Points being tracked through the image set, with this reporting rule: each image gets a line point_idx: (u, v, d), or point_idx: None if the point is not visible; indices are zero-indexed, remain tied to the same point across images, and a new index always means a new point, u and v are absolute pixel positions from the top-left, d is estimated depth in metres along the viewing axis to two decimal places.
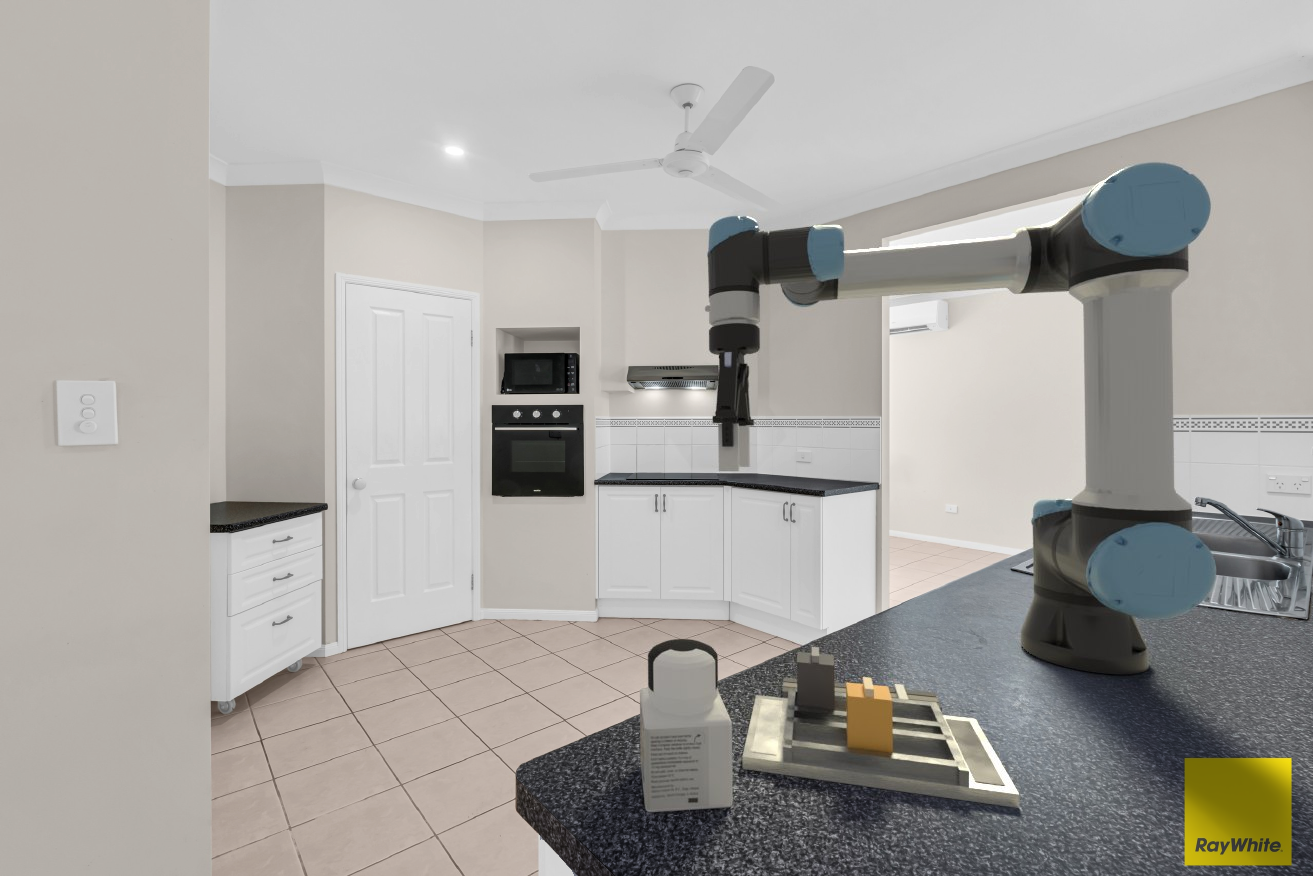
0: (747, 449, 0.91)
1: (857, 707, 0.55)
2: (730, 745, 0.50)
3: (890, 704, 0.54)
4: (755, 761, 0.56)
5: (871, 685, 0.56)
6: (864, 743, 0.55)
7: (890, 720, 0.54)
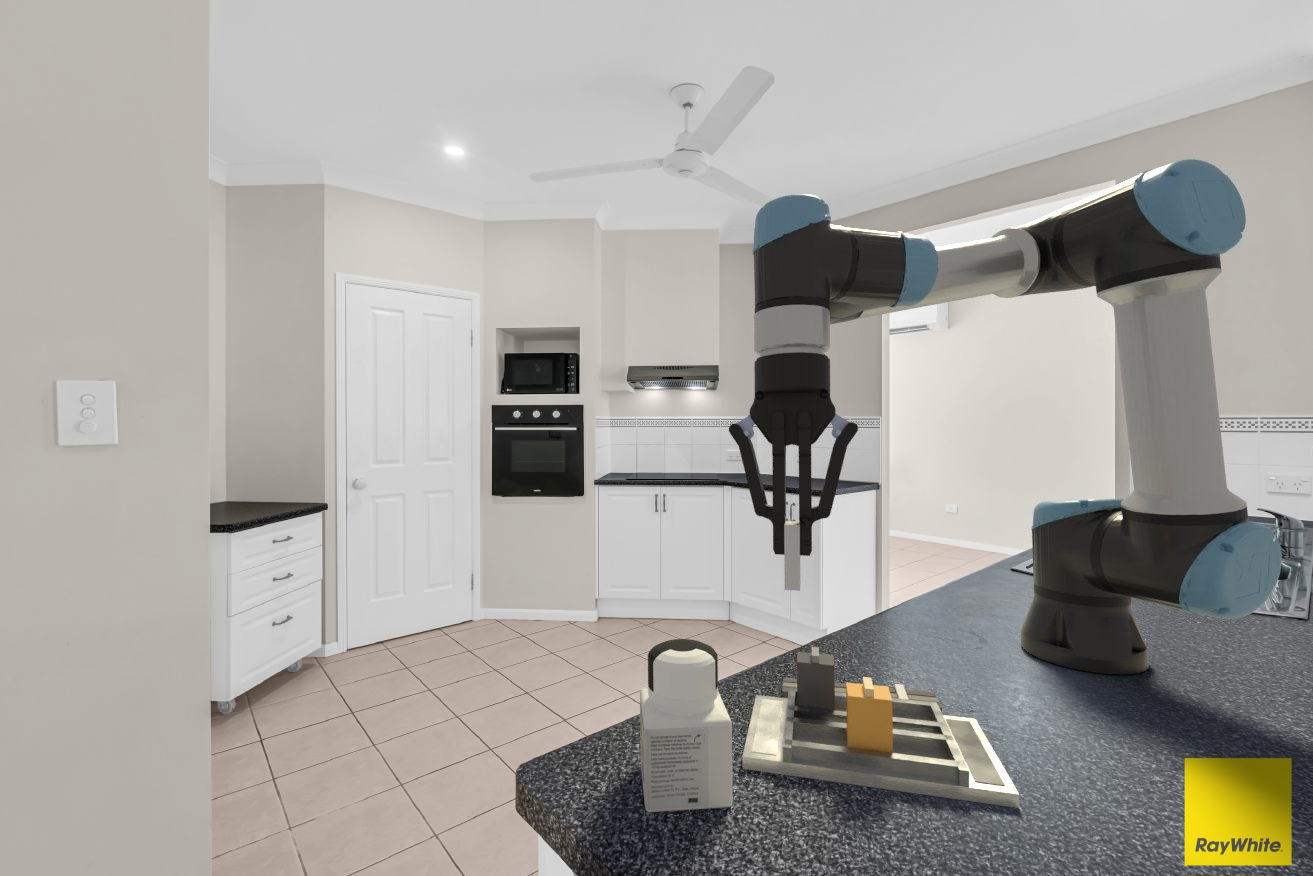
0: None
1: (857, 707, 0.55)
2: (730, 745, 0.50)
3: (890, 704, 0.54)
4: (755, 761, 0.56)
5: (871, 685, 0.56)
6: (864, 743, 0.55)
7: (890, 720, 0.54)
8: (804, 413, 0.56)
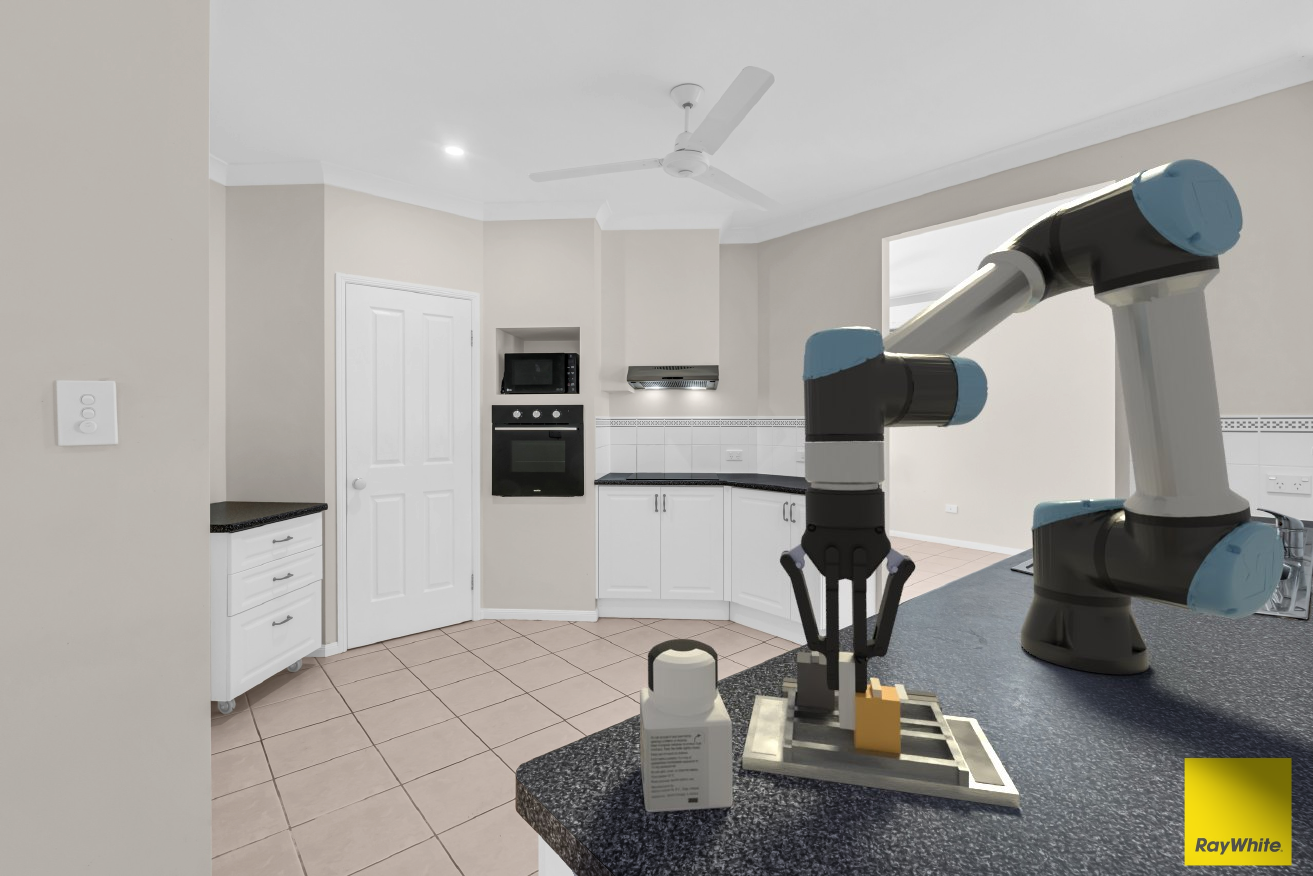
0: None
1: (865, 708, 0.55)
2: (730, 745, 0.50)
3: (898, 705, 0.54)
4: (755, 761, 0.56)
5: (878, 686, 0.56)
6: (871, 744, 0.55)
7: (898, 720, 0.54)
8: (859, 550, 0.55)
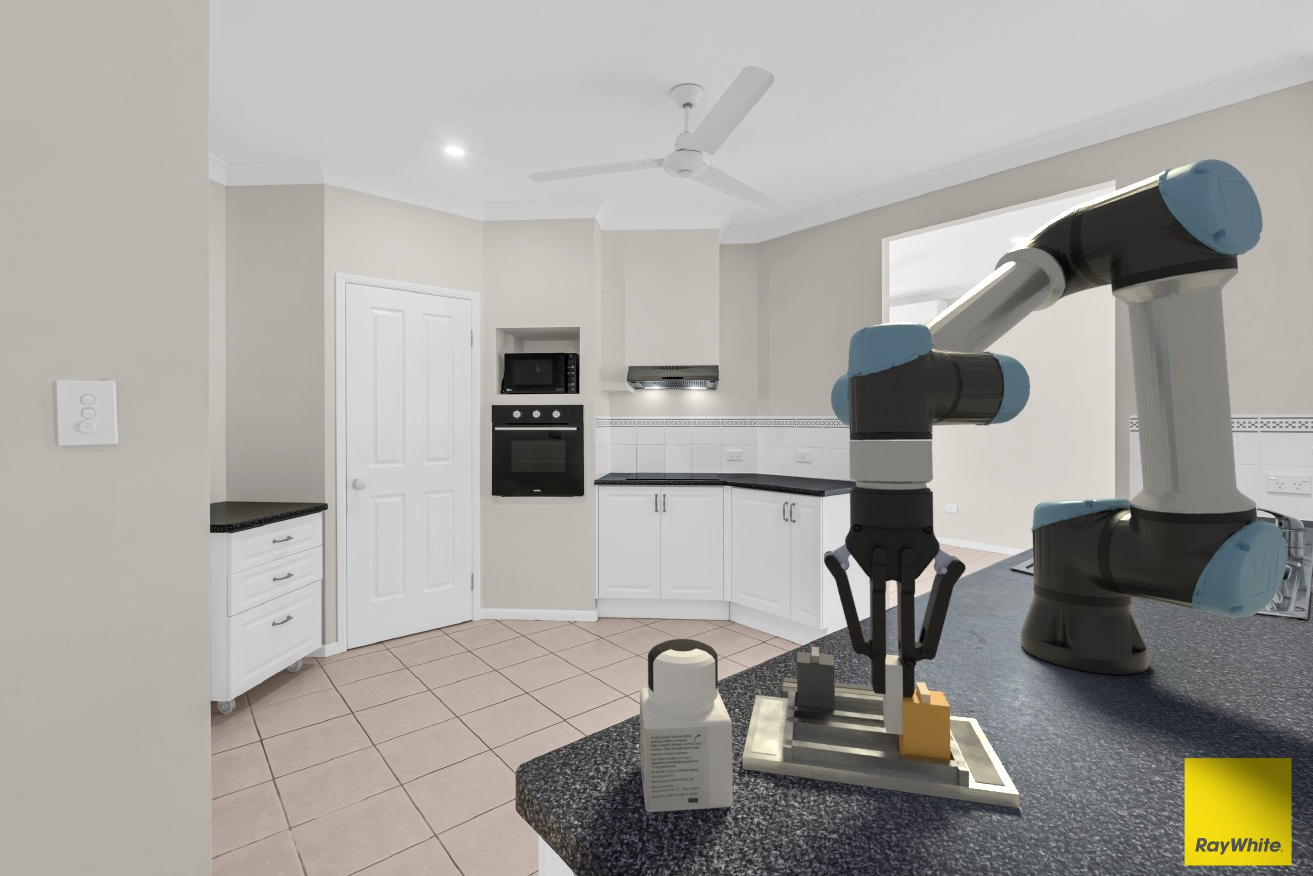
0: None
1: (913, 713, 0.54)
2: (730, 745, 0.50)
3: (947, 710, 0.53)
4: (755, 761, 0.56)
5: (926, 691, 0.54)
6: (920, 750, 0.54)
7: (947, 726, 0.53)
8: (908, 551, 0.54)
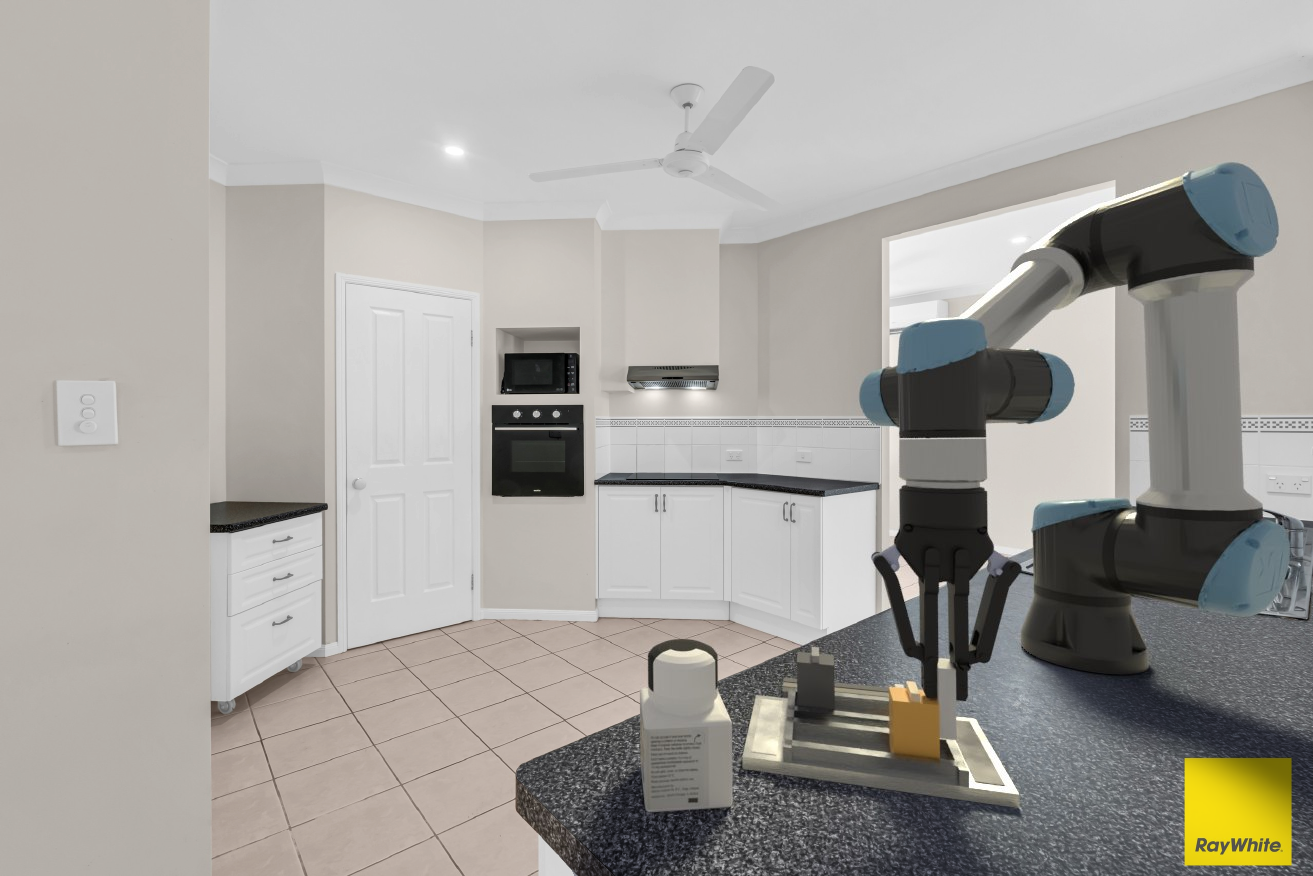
0: None
1: (903, 712, 0.54)
2: (730, 745, 0.50)
3: (937, 709, 0.53)
4: (755, 761, 0.56)
5: (916, 690, 0.55)
6: (909, 748, 0.54)
7: (937, 725, 0.53)
8: (962, 551, 0.52)
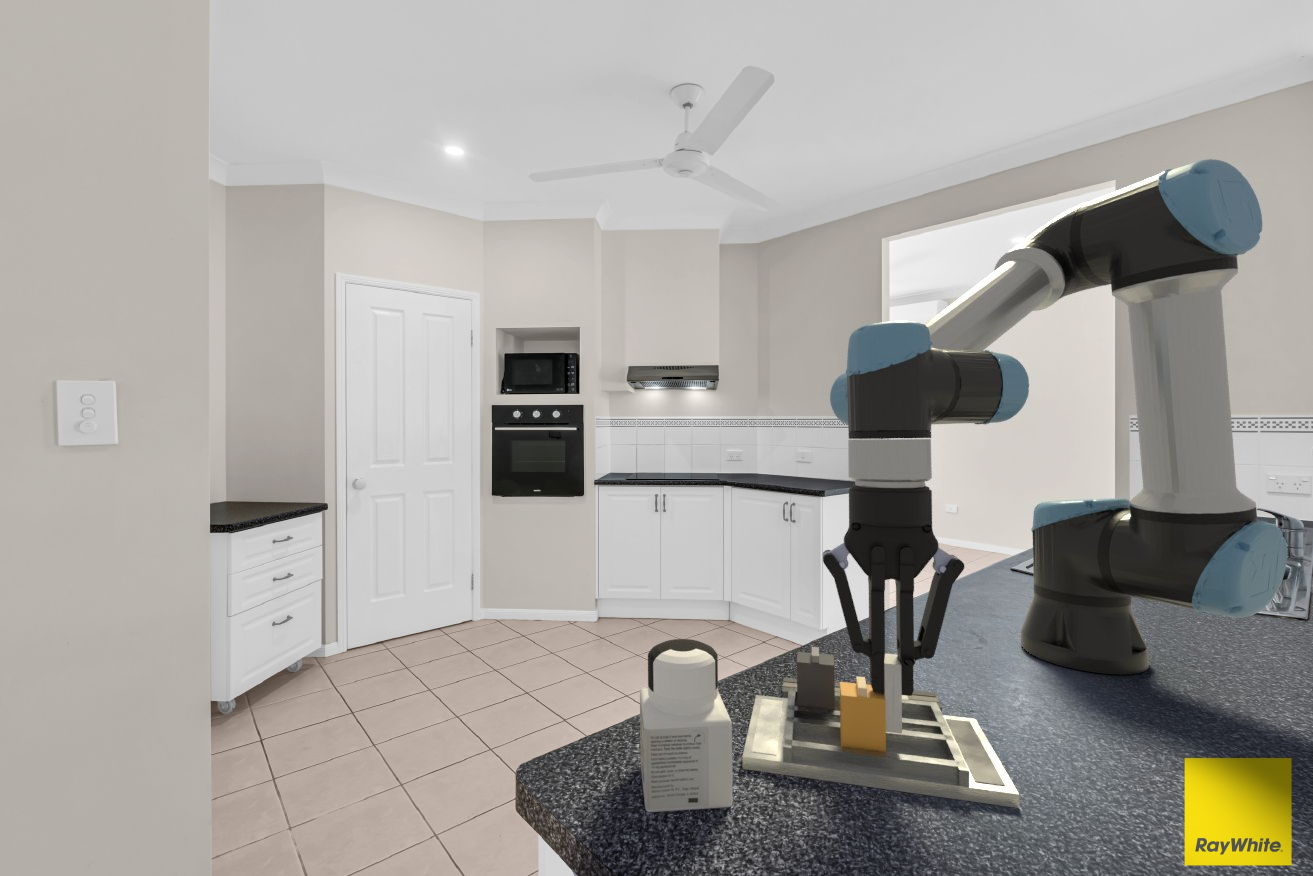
0: None
1: (850, 706, 0.55)
2: (730, 745, 0.50)
3: (883, 703, 0.54)
4: (755, 761, 0.56)
5: (864, 685, 0.56)
6: (857, 742, 0.55)
7: (883, 719, 0.54)
8: (907, 549, 0.54)
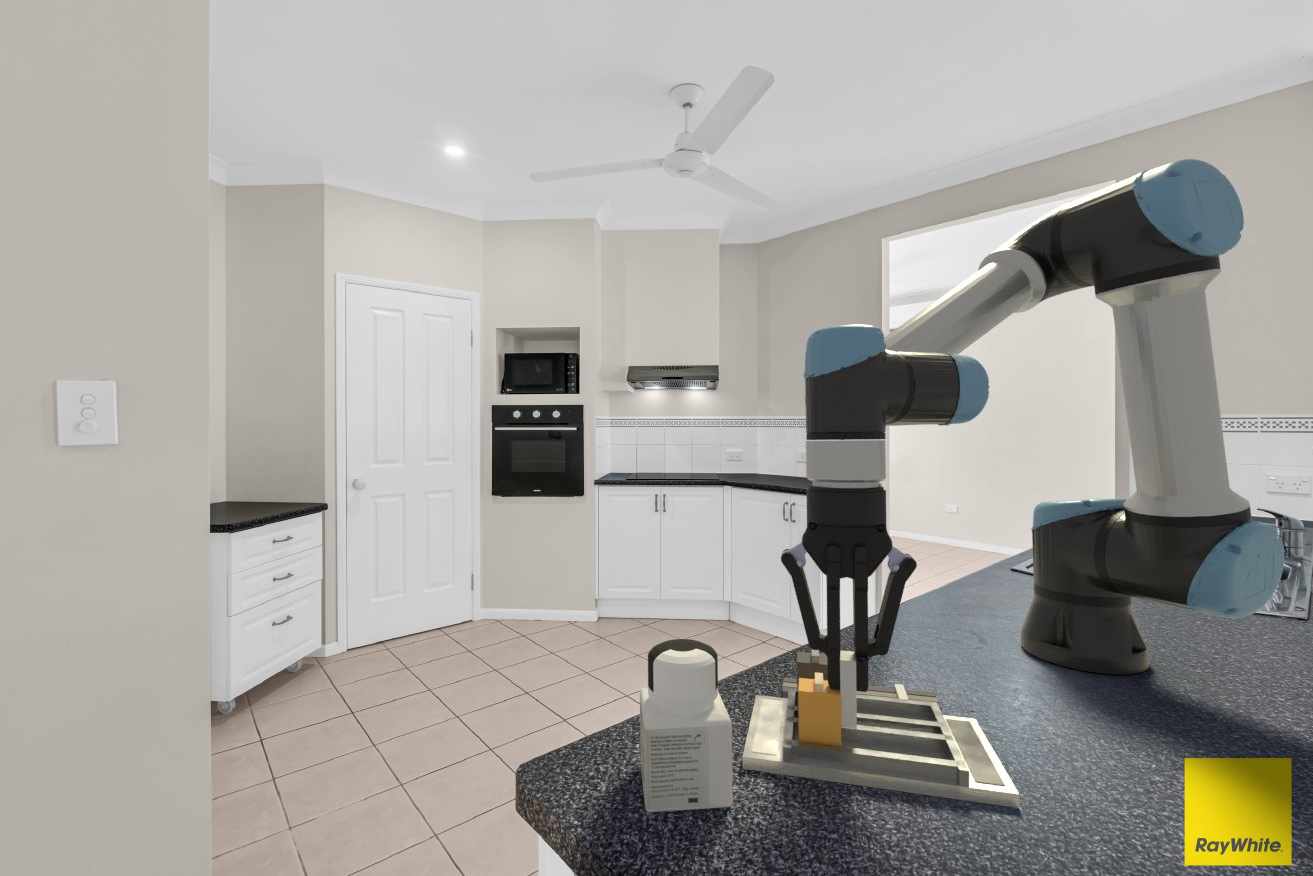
0: None
1: (807, 702, 0.56)
2: (730, 745, 0.50)
3: (838, 699, 0.56)
4: (755, 761, 0.56)
5: (821, 680, 0.57)
6: (813, 737, 0.56)
7: (838, 714, 0.56)
8: (861, 548, 0.55)
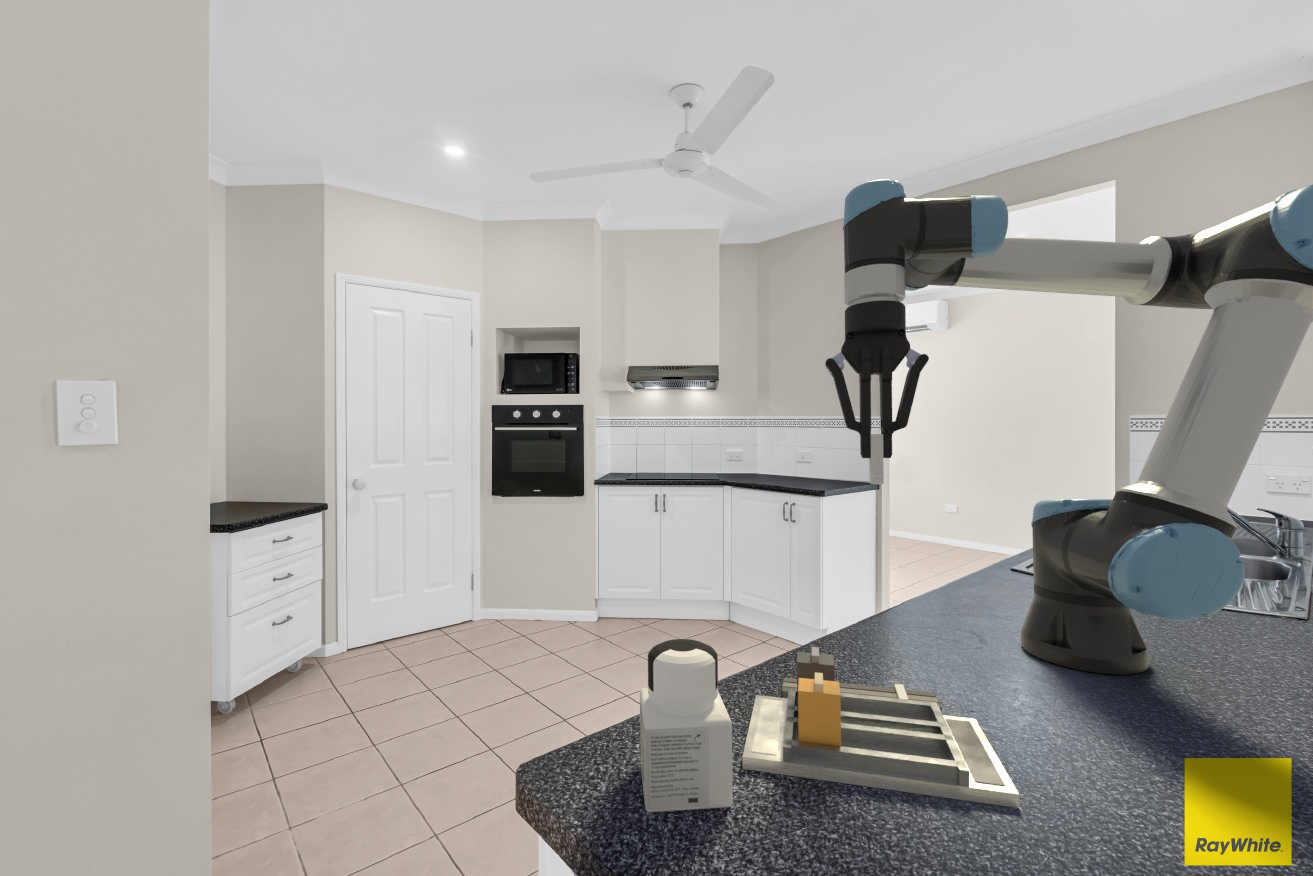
0: None
1: (807, 702, 0.56)
2: (730, 745, 0.50)
3: (838, 699, 0.56)
4: (755, 761, 0.56)
5: (821, 680, 0.57)
6: (813, 736, 0.56)
7: (838, 714, 0.56)
8: (887, 347, 0.73)
